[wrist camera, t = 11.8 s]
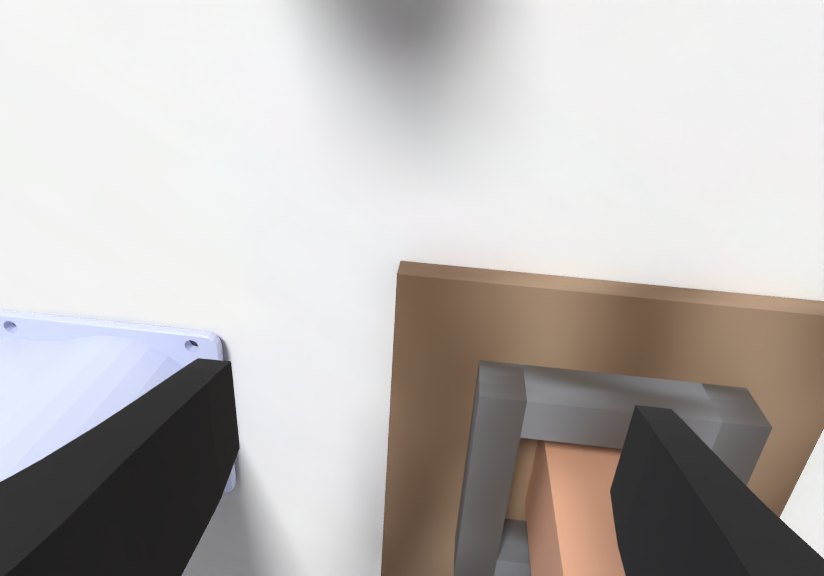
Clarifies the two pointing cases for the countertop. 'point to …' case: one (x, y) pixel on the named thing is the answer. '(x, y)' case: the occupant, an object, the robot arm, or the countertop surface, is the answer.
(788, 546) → the robot arm
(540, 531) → the peg
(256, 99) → the countertop surface
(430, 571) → the peg holder
